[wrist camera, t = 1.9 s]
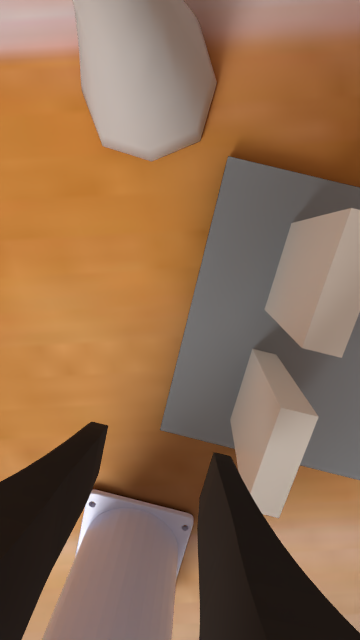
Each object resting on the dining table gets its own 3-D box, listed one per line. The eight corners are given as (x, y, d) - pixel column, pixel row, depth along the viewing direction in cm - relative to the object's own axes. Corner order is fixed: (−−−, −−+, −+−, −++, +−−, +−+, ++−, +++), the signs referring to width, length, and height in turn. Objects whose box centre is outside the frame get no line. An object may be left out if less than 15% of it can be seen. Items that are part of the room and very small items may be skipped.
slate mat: (388, 480, 21) (395, 489, 20) (161, 423, 21) (160, 430, 20) (510, 228, 17) (525, 227, 16) (227, 160, 17) (228, 156, 16)
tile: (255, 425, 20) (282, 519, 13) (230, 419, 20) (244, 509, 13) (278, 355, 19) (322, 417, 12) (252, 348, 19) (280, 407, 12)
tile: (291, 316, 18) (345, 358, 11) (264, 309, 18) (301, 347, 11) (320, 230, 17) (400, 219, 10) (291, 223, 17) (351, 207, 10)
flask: (216, 2, 16) (241, -402, 6) (216, 159, 17) (235, 48, 8) (77, 14, 16) (-114, -340, 6) (90, 165, 18) (-45, 69, 8)
